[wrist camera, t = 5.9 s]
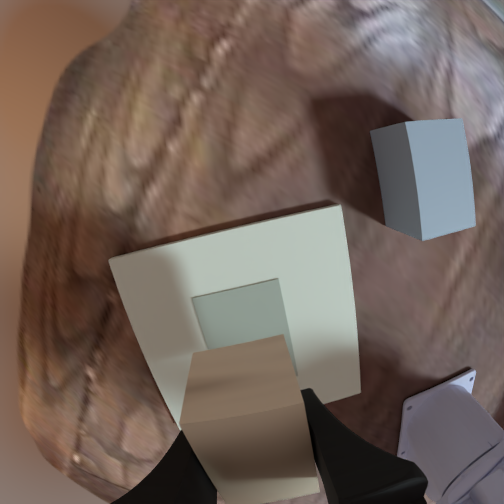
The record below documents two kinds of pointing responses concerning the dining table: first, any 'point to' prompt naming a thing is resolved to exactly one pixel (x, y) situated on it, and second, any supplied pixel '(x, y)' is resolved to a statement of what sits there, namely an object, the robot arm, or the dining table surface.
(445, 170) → the slate brick
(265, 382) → the birch brick
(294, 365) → the plate
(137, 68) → the dining table surface
